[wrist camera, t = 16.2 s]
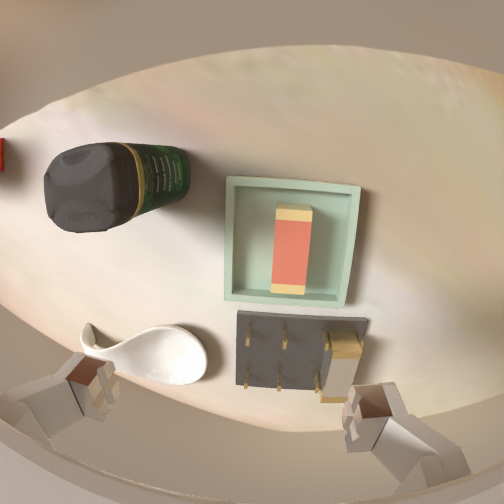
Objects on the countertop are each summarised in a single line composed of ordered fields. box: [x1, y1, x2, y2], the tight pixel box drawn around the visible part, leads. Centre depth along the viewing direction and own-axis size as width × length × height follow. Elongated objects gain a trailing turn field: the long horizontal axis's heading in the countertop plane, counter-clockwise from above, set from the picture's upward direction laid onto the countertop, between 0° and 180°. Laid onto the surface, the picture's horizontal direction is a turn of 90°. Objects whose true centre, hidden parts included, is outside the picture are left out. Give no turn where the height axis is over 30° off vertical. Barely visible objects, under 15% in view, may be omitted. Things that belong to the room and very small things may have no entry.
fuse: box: [271, 202, 313, 295], centre depth 36 cm, size 4×10×5 cm, turn 178°
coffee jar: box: [44, 142, 190, 233], centre depth 29 cm, size 10×8×19 cm
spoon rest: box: [80, 323, 208, 386], centre depth 44 cm, size 24×12×7 cm, turn 91°
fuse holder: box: [236, 310, 367, 403], centre depth 42 cm, size 19×14×6 cm
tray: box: [224, 176, 361, 308], centre depth 38 cm, size 16×16×3 cm
